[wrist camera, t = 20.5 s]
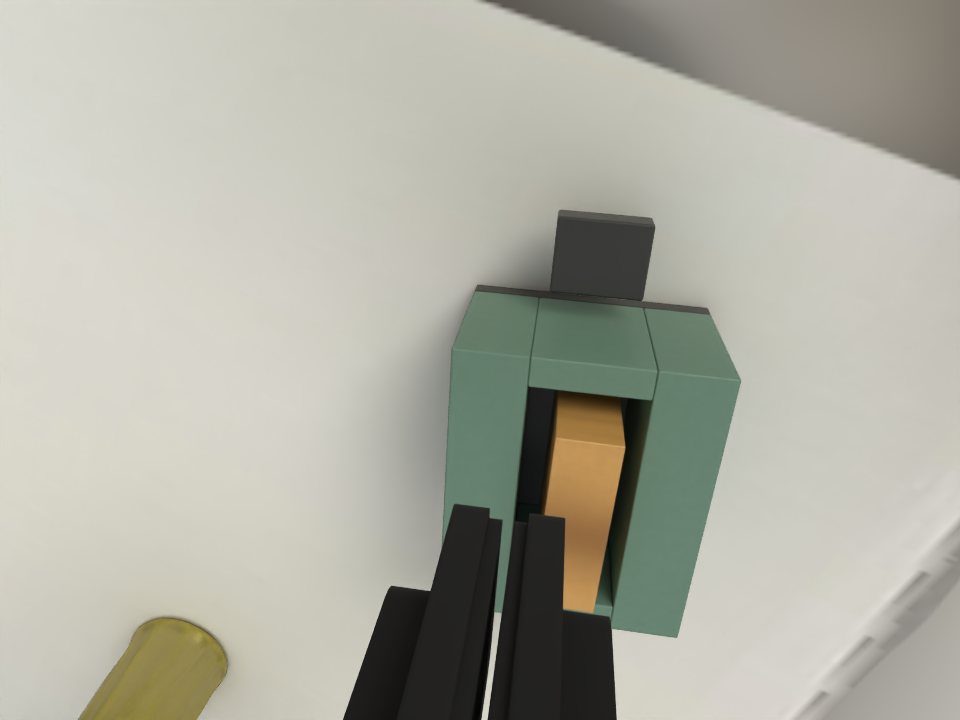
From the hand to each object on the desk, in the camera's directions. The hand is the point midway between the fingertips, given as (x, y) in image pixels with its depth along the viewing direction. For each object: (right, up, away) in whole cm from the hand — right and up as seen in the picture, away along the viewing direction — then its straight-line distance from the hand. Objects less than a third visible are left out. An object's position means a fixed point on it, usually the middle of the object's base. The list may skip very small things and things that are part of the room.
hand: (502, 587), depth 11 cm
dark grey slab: (+4, +8, +17) cm, 19 cm away
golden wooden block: (+4, 0, +22) cm, 22 cm away
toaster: (+4, +1, +22) cm, 23 cm away
